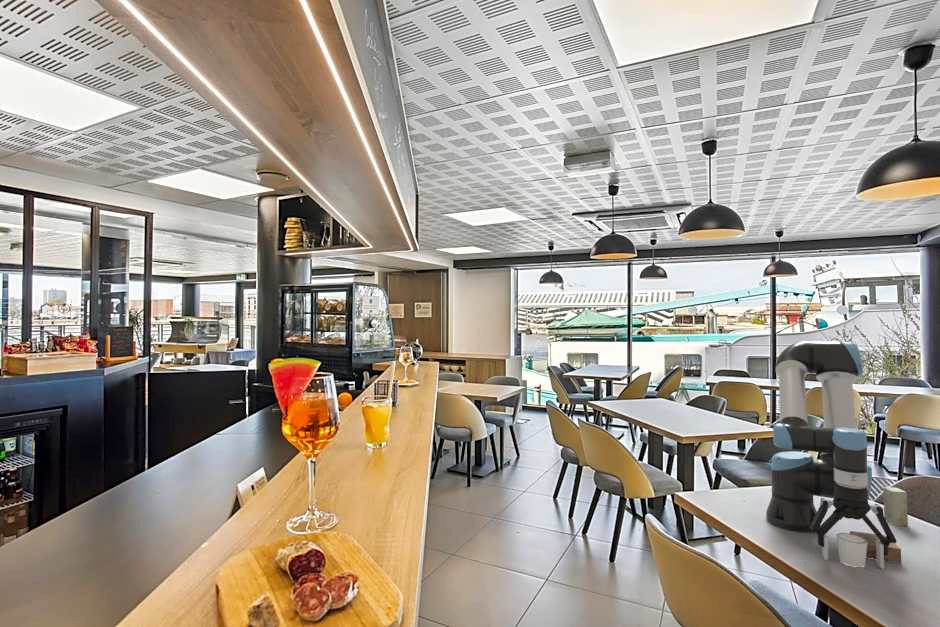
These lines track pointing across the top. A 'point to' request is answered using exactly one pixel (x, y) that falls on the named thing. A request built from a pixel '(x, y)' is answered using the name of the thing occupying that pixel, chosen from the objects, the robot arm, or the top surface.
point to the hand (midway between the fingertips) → (852, 562)
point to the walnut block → (893, 549)
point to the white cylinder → (852, 549)
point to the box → (895, 506)
